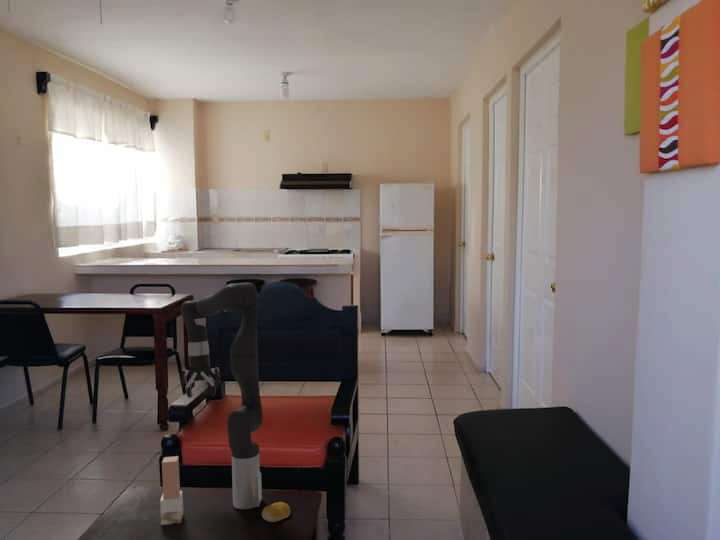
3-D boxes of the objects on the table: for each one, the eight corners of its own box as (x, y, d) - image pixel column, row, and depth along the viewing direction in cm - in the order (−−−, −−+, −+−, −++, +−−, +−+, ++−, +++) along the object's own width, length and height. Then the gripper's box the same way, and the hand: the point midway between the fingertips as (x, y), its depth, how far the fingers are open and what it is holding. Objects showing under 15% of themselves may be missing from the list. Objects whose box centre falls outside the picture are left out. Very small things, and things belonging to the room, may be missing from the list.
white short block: (182, 502, 186) (182, 490, 185) (180, 511, 180) (180, 498, 179) (163, 504, 184) (163, 492, 184) (160, 513, 179) (160, 500, 178)
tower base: (183, 514, 186) (182, 502, 186) (180, 523, 180) (180, 511, 180) (164, 516, 185) (163, 504, 184) (161, 525, 179) (160, 512, 179)
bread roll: (295, 514, 184) (294, 502, 184) (273, 525, 178) (273, 512, 178) (278, 507, 190) (278, 495, 190) (257, 516, 183) (257, 504, 183)
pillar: (179, 492, 184) (178, 456, 184) (178, 498, 180) (176, 461, 179) (165, 493, 183) (164, 457, 183) (163, 499, 179) (161, 462, 178)
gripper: (176, 356, 208) (179, 400, 208) (215, 353, 208) (218, 397, 208) (182, 353, 215) (185, 395, 215) (220, 350, 216) (223, 393, 215)
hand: (201, 396), depth 212 cm, fingers open, 8 cm apart
